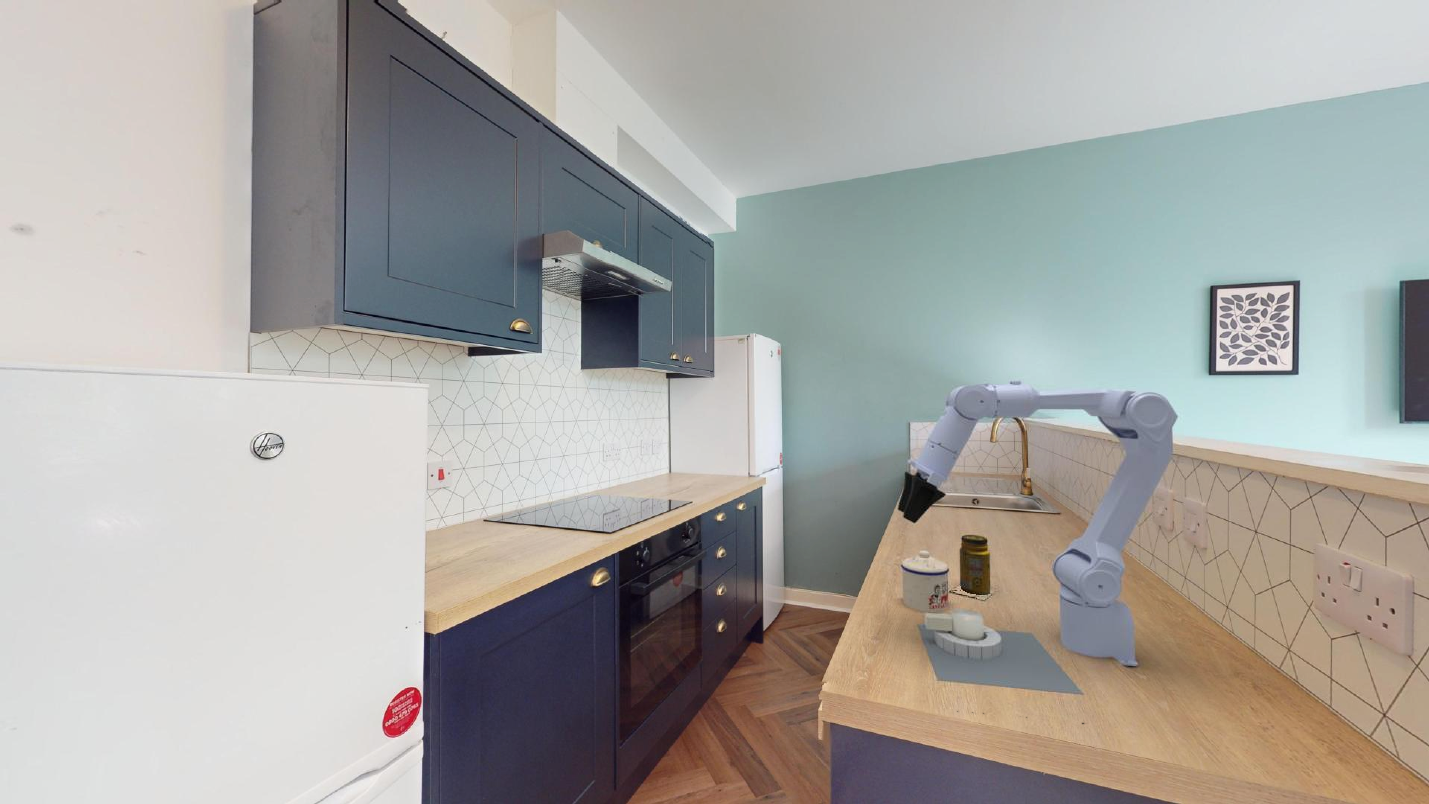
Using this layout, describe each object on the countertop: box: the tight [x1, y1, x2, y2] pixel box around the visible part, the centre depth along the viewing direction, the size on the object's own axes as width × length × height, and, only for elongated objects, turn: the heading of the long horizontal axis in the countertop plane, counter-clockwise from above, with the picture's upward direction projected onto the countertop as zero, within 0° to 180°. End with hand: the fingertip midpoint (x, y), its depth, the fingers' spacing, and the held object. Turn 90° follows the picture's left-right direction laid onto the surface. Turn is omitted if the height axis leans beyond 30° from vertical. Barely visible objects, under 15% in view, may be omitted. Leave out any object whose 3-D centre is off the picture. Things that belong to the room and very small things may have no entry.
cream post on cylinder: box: [924, 608, 984, 641], centre depth 88 cm, size 9×5×5 cm, turn 77°
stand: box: [916, 623, 1085, 696], centre depth 84 cm, size 19×20×3 cm
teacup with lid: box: [900, 550, 950, 613], centre depth 106 cm, size 12×9×12 cm
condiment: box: [949, 534, 998, 601], centre depth 115 cm, size 7×8×12 cm
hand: (905, 516), depth 91 cm, fingers open, 7 cm apart
